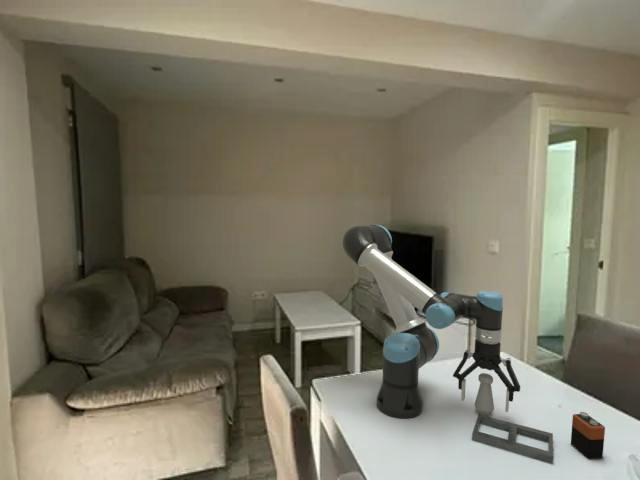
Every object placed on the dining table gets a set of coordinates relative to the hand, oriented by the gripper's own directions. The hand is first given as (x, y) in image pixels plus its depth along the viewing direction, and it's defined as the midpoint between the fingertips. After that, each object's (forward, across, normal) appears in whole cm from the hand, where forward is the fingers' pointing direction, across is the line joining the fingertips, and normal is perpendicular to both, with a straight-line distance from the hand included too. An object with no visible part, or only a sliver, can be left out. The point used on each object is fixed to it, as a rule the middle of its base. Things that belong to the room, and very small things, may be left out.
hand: (484, 404), depth 125 cm
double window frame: (+3, +9, -11) cm, 15 cm away
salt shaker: (+3, 0, 0) cm, 3 cm away
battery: (+3, +27, -6) cm, 28 cm away
